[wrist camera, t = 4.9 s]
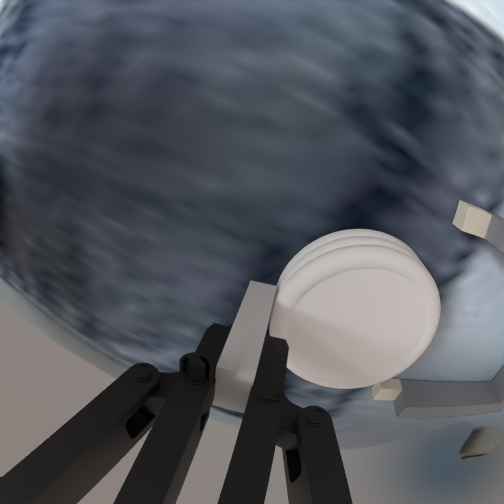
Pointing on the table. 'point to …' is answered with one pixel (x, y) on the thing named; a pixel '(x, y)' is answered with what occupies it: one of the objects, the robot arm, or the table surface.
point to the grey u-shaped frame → (444, 392)
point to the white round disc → (354, 309)
